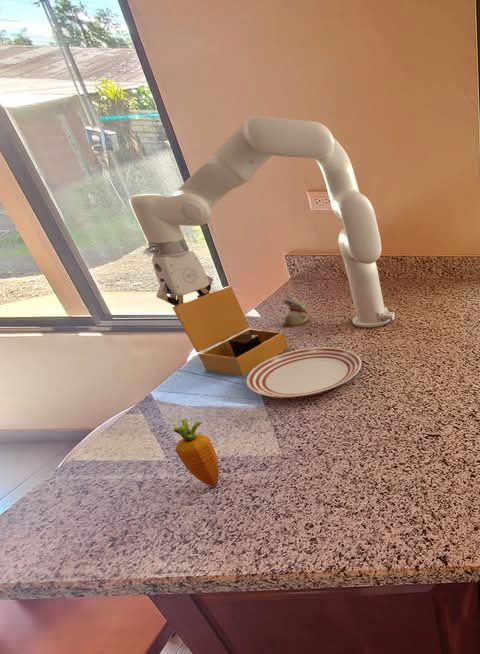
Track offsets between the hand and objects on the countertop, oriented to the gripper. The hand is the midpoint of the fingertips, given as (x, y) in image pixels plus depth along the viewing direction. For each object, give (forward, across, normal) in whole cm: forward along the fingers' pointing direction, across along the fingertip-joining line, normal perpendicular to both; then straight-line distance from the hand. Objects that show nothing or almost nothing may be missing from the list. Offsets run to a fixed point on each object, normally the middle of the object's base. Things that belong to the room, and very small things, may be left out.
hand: (197, 313), depth 117 cm
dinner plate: (+13, -5, -35) cm, 38 cm away
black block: (+12, 0, -12) cm, 18 cm away
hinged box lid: (+1, 0, -6) cm, 6 cm away
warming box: (+13, 0, -12) cm, 18 cm away
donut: (+13, +10, 0) cm, 17 cm away
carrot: (+13, -44, -44) cm, 64 cm away
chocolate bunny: (+13, +27, -6) cm, 31 cm away
